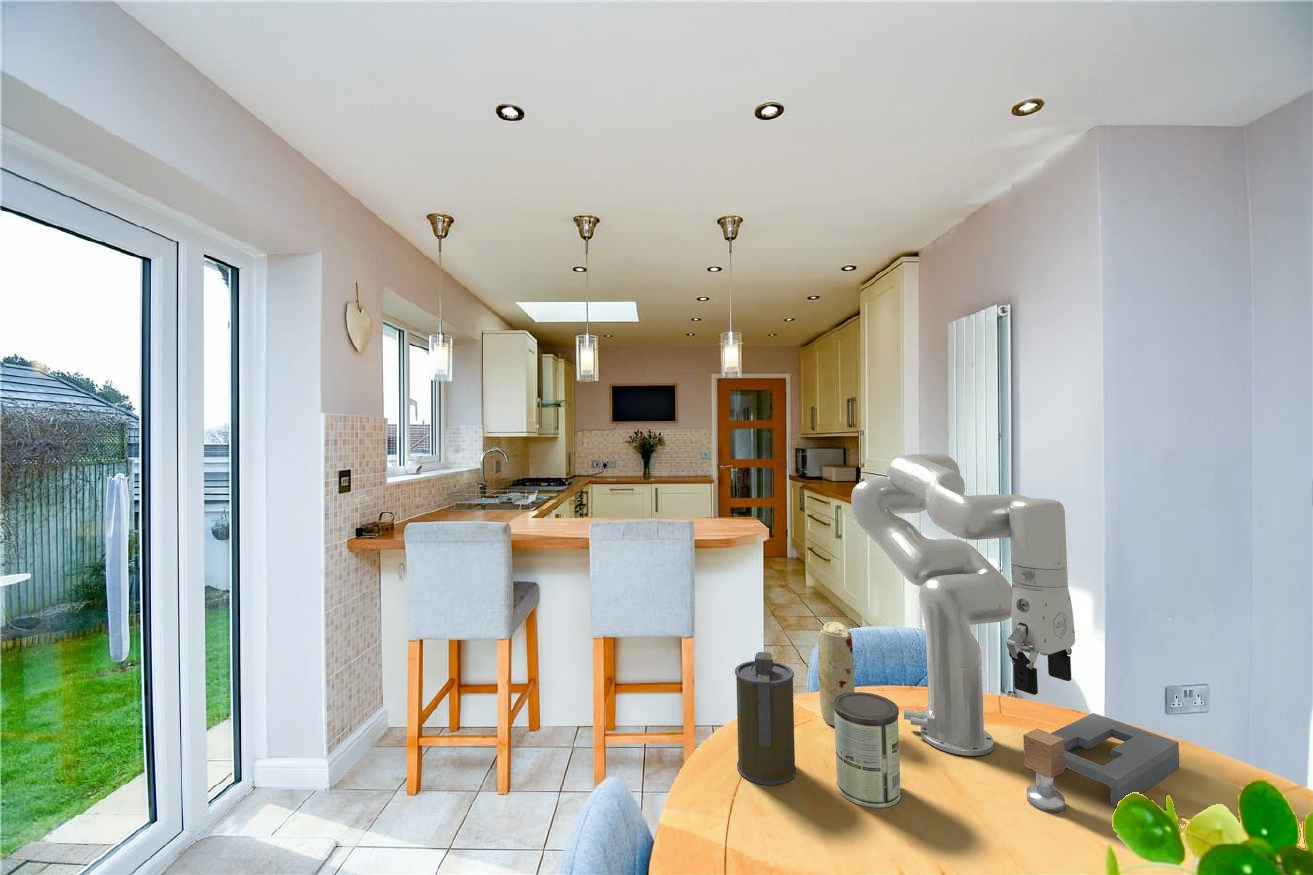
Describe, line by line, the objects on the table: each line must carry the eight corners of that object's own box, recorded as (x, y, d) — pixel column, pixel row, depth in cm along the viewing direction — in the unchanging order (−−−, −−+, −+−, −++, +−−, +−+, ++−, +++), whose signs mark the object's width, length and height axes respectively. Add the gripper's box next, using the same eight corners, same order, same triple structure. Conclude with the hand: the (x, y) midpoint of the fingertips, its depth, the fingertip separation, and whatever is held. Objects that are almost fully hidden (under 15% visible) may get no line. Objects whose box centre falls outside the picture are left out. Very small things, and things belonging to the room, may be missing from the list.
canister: (738, 751, 110) (736, 644, 110) (795, 755, 107) (792, 647, 108) (734, 784, 99) (732, 666, 99) (797, 790, 97) (794, 669, 97)
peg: (1054, 817, 88) (1052, 748, 89) (1020, 800, 93) (1018, 734, 93) (1071, 806, 91) (1069, 739, 91) (1037, 790, 95) (1035, 726, 95)
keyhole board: (1118, 808, 90) (1117, 779, 90) (1030, 769, 101) (1029, 743, 102) (1179, 768, 101) (1178, 741, 101) (1093, 736, 112) (1093, 712, 112)
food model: (863, 731, 116) (860, 631, 116) (831, 733, 115) (828, 632, 116) (843, 709, 126) (841, 617, 126) (813, 711, 125) (811, 618, 125)
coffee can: (836, 768, 103) (834, 688, 103) (899, 777, 100) (896, 695, 100) (834, 802, 93) (832, 714, 94) (903, 814, 90) (901, 722, 90)
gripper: (1033, 588, 85) (1038, 706, 84) (1093, 573, 93) (1097, 681, 93) (983, 579, 91) (987, 688, 91) (1043, 566, 100) (1047, 666, 99)
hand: (1043, 684), depth 92 cm, fingers open, 9 cm apart
